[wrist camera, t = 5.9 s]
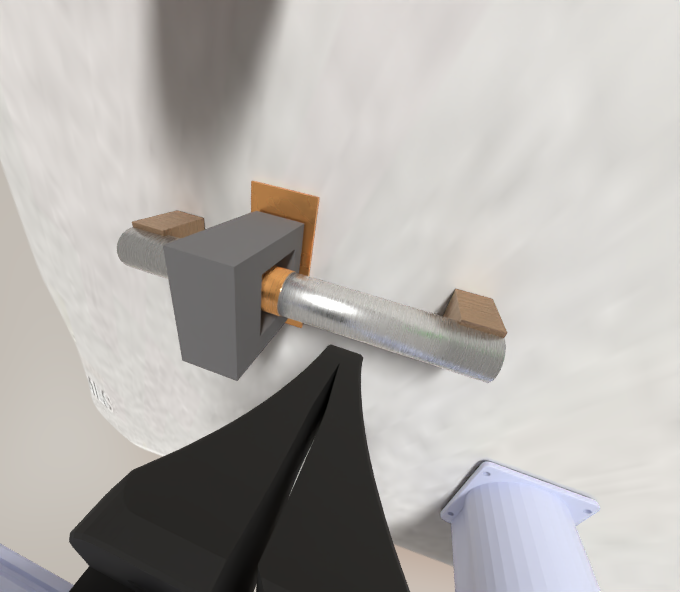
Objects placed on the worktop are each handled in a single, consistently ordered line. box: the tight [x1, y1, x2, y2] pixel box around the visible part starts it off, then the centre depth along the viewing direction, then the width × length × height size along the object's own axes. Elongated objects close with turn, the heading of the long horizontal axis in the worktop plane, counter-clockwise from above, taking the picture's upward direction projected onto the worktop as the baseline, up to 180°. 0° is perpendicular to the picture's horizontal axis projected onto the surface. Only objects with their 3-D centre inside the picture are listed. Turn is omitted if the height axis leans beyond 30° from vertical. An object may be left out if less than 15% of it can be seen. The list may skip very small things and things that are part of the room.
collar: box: [163, 211, 304, 381], centre depth 14 cm, size 3×6×7 cm, turn 169°
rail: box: [117, 181, 507, 383], centre depth 15 cm, size 20×9×4 cm, turn 79°
